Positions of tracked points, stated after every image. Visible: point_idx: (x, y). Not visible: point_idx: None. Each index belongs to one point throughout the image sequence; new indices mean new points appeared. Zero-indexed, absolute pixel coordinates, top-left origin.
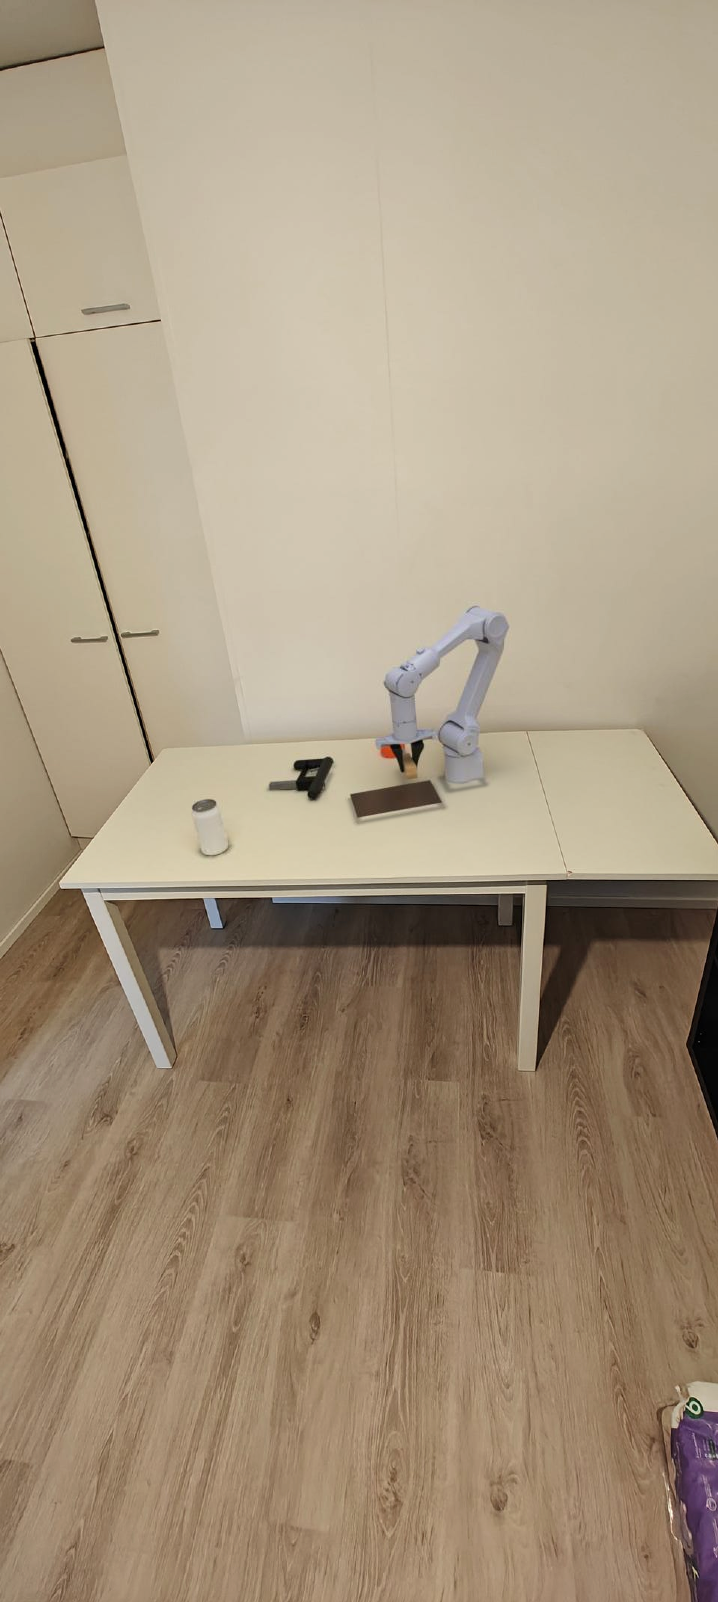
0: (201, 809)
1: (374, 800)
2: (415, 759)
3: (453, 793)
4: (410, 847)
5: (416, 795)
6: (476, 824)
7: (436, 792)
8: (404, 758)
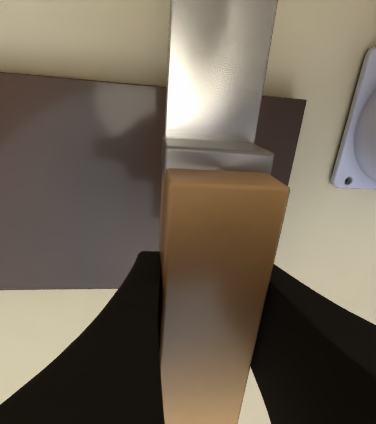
0: None
1: (4, 186)
2: (270, 401)
3: (333, 202)
4: None
5: None
6: None
7: None
8: (196, 293)
